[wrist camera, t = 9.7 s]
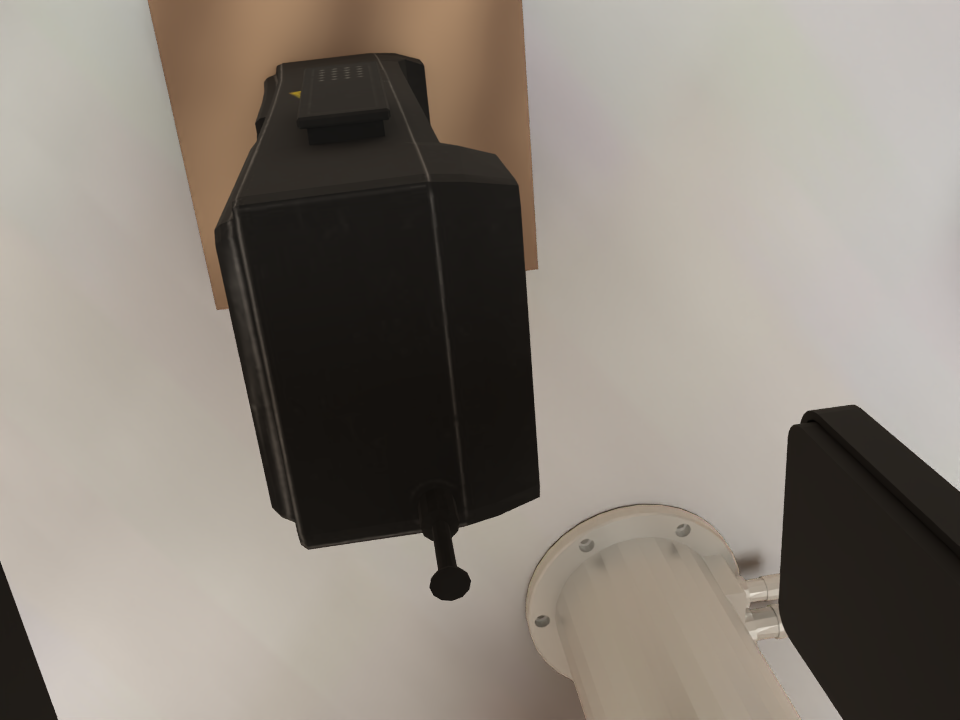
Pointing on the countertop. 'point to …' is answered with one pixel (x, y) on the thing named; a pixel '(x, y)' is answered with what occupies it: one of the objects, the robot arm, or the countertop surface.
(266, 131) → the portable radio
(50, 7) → the countertop surface
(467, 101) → the stand
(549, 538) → the countertop surface
